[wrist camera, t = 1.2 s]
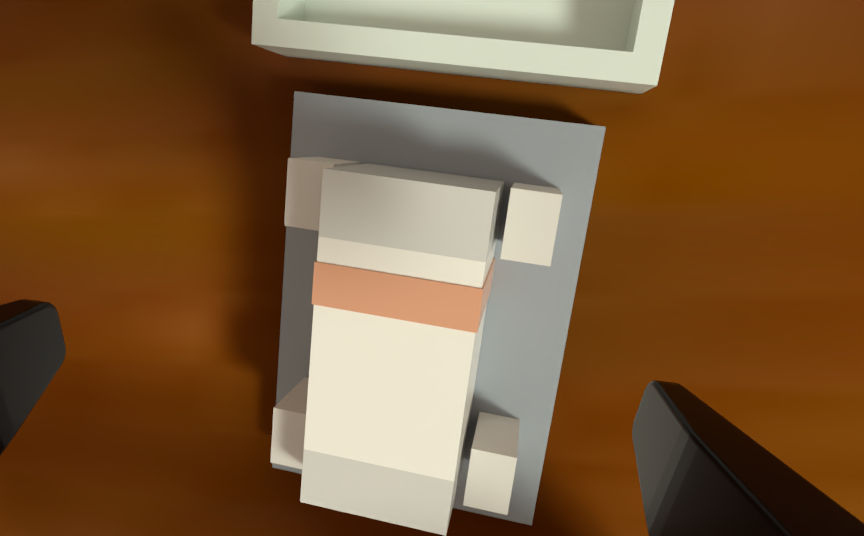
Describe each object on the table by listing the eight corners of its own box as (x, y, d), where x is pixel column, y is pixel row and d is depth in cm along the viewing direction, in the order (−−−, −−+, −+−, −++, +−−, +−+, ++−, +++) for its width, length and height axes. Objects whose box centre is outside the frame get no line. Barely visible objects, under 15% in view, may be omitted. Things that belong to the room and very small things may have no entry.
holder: (531, 500, 21) (531, 577, 18) (288, 447, 23) (238, 507, 19) (600, 128, 18) (617, 123, 14) (312, 95, 20) (257, 82, 16)
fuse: (465, 460, 20) (447, 537, 16) (343, 434, 21) (297, 502, 17) (506, 181, 18) (497, 192, 14) (367, 163, 18) (320, 168, 14)
